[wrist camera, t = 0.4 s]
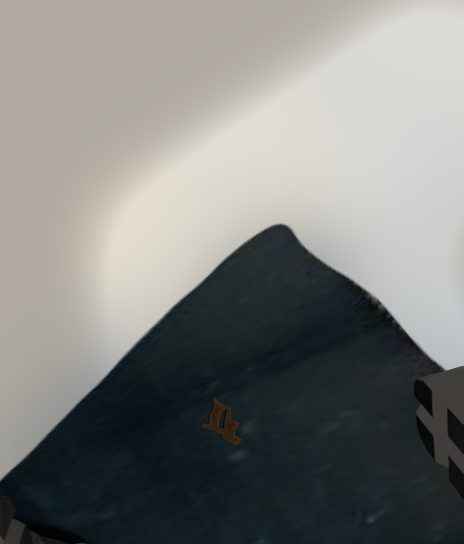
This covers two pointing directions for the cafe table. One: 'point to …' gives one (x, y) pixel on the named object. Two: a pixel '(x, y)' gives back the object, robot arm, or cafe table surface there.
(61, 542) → the rock
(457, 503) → the cafe table surface
